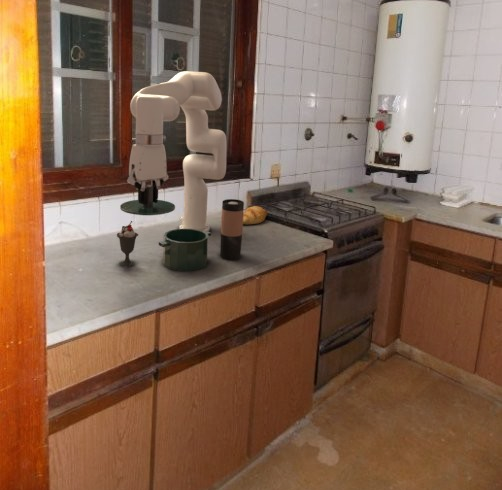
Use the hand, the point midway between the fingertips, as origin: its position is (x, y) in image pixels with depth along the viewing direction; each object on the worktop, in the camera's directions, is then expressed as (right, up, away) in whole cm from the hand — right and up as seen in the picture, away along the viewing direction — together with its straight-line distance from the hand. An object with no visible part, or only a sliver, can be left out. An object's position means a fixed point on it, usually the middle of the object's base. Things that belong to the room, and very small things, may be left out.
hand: (148, 202), depth 128 cm
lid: (0, -2, 0) cm, 2 cm away
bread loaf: (+31, -13, +73) cm, 80 cm away
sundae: (-11, -21, +16) cm, 29 cm away
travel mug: (+23, -21, +28) cm, 42 cm away
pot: (+8, -22, +20) cm, 31 cm away
